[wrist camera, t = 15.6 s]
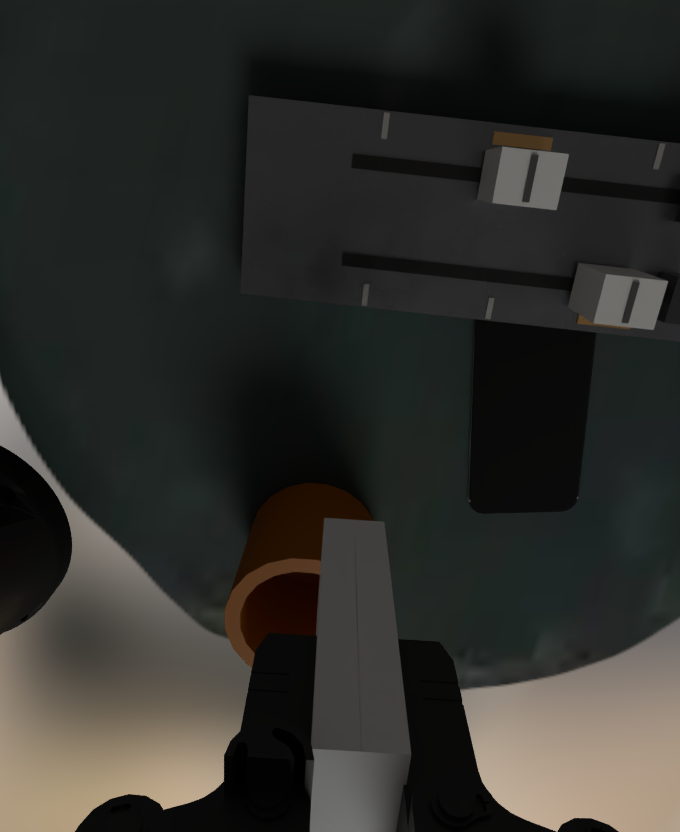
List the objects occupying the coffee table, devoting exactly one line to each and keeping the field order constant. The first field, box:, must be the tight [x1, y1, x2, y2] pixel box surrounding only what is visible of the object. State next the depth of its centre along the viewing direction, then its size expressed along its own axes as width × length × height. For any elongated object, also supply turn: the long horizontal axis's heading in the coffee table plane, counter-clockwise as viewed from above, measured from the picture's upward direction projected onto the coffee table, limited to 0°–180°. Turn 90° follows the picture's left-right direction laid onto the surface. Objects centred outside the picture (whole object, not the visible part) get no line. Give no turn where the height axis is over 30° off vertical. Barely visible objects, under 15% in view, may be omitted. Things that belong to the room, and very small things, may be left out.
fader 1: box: [477, 147, 569, 210], centre depth 30 cm, size 3×2×4 cm
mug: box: [225, 483, 373, 667], centre depth 39 cm, size 9×12×9 cm
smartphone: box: [468, 319, 596, 514], centre depth 39 cm, size 7×1×15 cm
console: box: [240, 95, 680, 342], centre depth 33 cm, size 28×10×4 cm, turn 84°
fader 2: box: [568, 263, 668, 330], centre depth 32 cm, size 3×2×4 cm
